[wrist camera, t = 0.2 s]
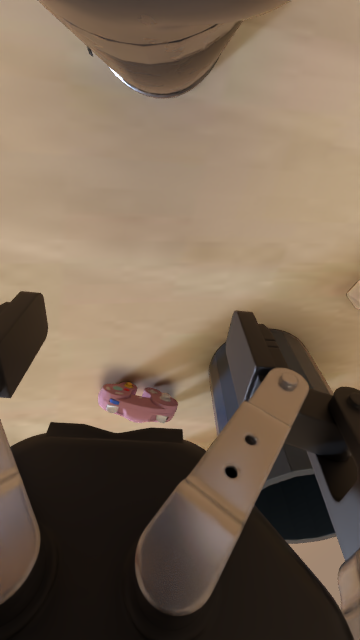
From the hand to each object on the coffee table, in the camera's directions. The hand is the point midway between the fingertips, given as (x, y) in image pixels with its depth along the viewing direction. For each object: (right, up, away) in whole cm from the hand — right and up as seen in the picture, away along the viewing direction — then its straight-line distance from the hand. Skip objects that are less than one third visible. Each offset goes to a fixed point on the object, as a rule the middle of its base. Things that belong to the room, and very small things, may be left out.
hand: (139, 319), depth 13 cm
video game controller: (-4, -9, +27) cm, 29 cm away
